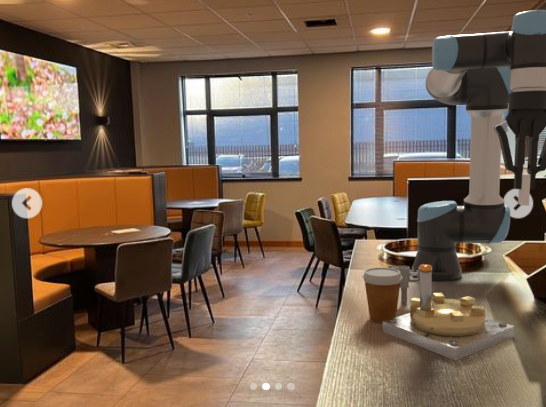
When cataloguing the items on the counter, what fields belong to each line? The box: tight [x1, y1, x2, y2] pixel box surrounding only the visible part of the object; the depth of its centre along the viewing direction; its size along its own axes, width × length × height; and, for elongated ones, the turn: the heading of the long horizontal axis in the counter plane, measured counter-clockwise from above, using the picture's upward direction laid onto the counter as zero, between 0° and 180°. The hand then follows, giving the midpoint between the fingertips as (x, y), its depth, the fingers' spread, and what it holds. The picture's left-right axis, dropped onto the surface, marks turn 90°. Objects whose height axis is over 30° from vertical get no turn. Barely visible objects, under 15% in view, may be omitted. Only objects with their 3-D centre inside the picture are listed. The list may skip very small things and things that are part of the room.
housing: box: [382, 312, 515, 362], centre depth 118 cm, size 20×20×3 cm
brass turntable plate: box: [409, 264, 486, 336], centre depth 117 cm, size 16×16×14 cm
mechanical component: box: [384, 265, 420, 305], centre depth 140 cm, size 3×10×10 cm, turn 79°
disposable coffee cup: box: [362, 266, 402, 324], centre depth 128 cm, size 10×10×12 cm
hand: (523, 204), depth 111 cm, fingers closed
